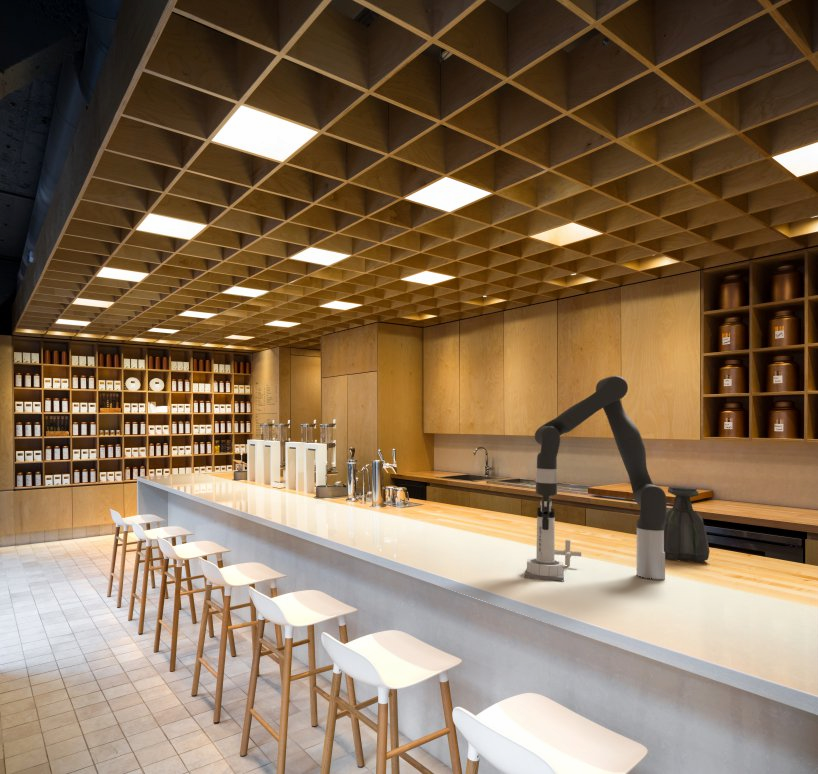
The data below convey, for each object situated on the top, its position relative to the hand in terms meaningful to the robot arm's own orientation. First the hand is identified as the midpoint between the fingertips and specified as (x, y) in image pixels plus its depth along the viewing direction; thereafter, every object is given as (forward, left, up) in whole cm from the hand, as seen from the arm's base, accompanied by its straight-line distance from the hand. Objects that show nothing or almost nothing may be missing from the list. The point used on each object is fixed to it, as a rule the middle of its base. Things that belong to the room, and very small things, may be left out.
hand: (545, 528), depth 208 cm
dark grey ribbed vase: (-56, -58, -17) cm, 82 cm away
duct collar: (0, 0, -17) cm, 17 cm away
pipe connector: (-8, -19, -17) cm, 27 cm away
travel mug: (0, 0, -13) cm, 13 cm away
